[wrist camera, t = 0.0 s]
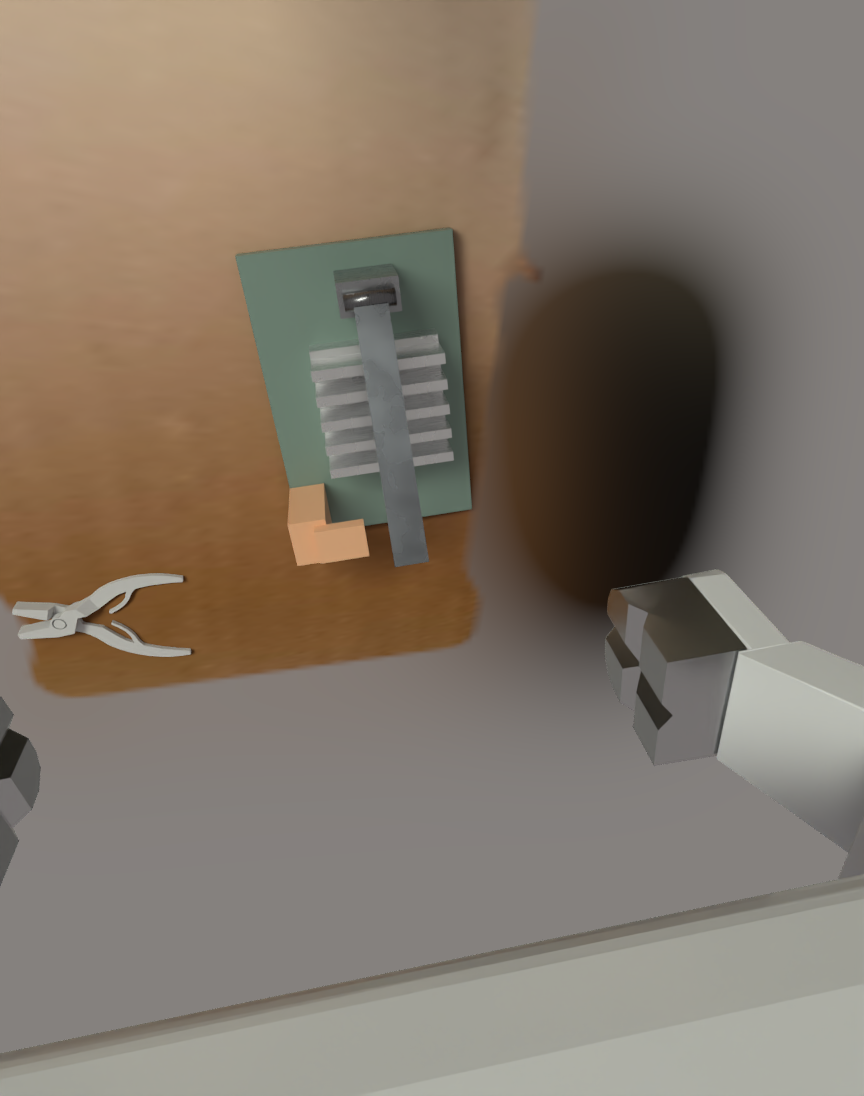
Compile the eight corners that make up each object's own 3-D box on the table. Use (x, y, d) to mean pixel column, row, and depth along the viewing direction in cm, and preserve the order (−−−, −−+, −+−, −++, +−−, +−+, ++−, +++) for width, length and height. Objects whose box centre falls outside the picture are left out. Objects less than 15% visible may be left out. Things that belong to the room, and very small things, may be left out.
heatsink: (295, 275, 50) (294, 288, 46) (428, 258, 51) (438, 270, 47) (331, 460, 58) (332, 485, 54) (444, 443, 59) (454, 467, 55)
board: (236, 254, 50) (235, 256, 49) (450, 227, 51) (452, 229, 50) (301, 530, 63) (301, 535, 62) (469, 504, 64) (471, 509, 63)
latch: (289, 488, 59) (287, 531, 53) (357, 478, 59) (363, 519, 53) (298, 527, 61) (297, 572, 55) (364, 516, 62) (370, 560, 55)
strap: (342, 297, 47) (342, 291, 46) (394, 290, 47) (394, 284, 46) (386, 567, 48) (386, 568, 47) (436, 559, 48) (437, 560, 47)
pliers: (189, 662, 67) (25, 665, 65) (191, 651, 69) (31, 654, 66) (180, 580, 62) (2, 580, 59) (183, 571, 63) (9, 570, 61)
